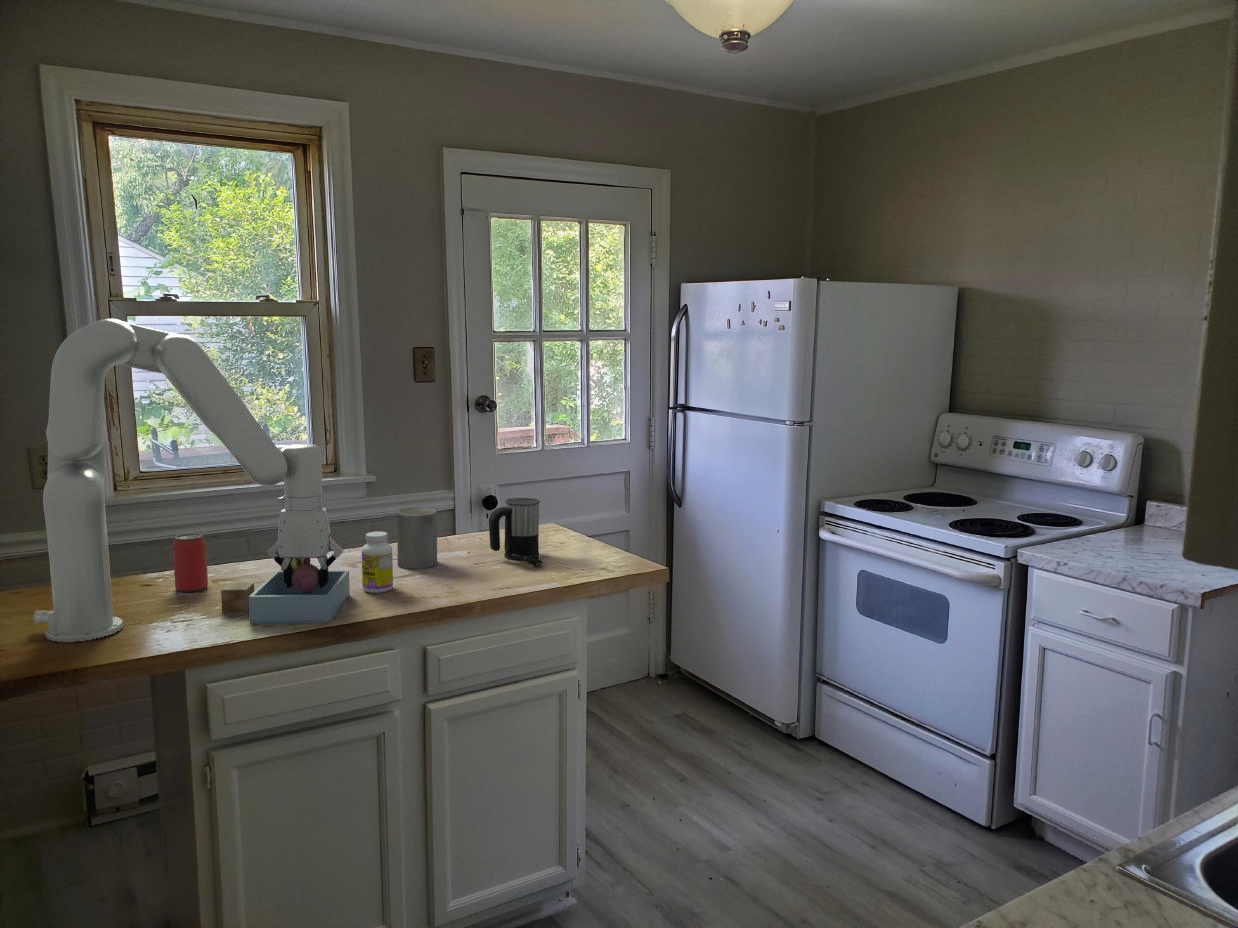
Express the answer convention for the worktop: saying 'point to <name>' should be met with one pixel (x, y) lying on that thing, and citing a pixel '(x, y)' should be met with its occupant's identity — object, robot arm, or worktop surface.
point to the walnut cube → (236, 597)
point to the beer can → (190, 562)
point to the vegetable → (305, 577)
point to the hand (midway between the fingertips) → (306, 585)
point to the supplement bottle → (377, 563)
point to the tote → (298, 601)
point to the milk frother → (517, 529)
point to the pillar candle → (416, 537)
